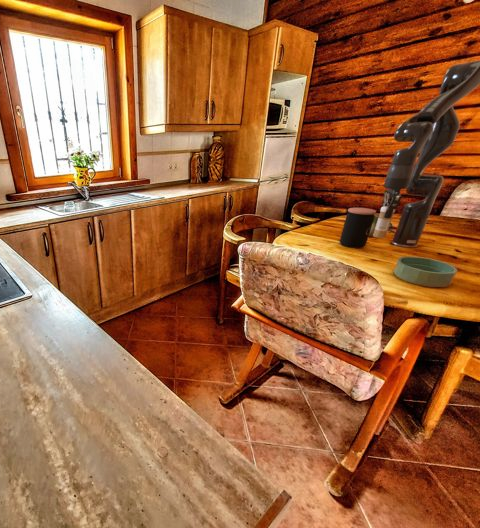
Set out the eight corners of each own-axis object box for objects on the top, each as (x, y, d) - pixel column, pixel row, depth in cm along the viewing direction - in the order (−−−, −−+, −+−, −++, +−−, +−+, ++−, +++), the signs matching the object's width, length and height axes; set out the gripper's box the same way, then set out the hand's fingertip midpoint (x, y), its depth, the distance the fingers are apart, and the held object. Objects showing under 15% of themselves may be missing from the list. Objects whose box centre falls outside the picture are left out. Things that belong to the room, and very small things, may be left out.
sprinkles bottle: (387, 236, 124) (397, 206, 118) (383, 239, 122) (393, 208, 116) (374, 234, 128) (383, 205, 122) (370, 236, 125) (379, 207, 120)
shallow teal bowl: (387, 267, 116) (392, 254, 113) (439, 273, 109) (445, 259, 107) (400, 284, 103) (405, 269, 101) (458, 291, 96) (466, 276, 94)
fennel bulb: (361, 234, 154) (367, 213, 149) (372, 235, 152) (379, 213, 147) (364, 237, 149) (370, 215, 144) (375, 238, 147) (382, 216, 142)
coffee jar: (366, 250, 134) (378, 213, 126) (339, 246, 139) (349, 211, 132) (363, 243, 142) (374, 208, 135) (338, 240, 147) (347, 207, 140)
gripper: (417, 178, 107) (402, 221, 114) (404, 173, 118) (391, 213, 125) (392, 178, 110) (378, 220, 117) (382, 173, 121) (370, 212, 128)
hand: (385, 216), depth 121 cm, fingers closed on sprinkles bottle, 4 cm apart
